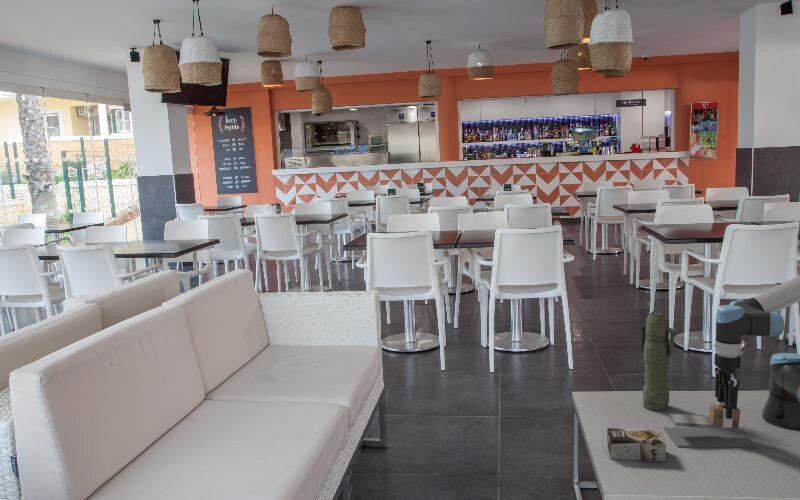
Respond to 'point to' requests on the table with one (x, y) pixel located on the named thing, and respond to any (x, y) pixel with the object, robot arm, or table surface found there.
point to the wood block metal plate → (706, 418)
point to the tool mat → (709, 437)
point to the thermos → (656, 360)
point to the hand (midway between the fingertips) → (724, 424)
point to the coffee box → (636, 444)
